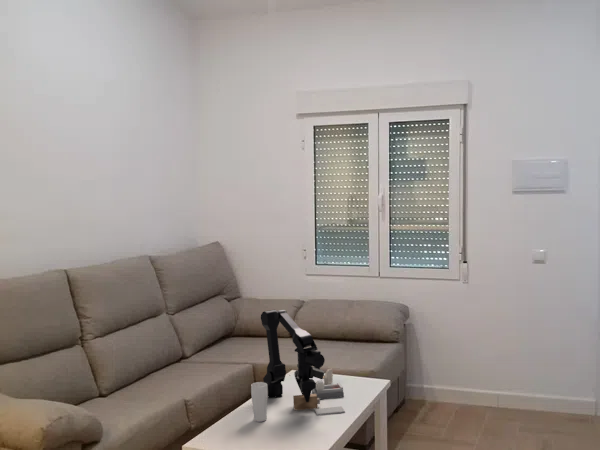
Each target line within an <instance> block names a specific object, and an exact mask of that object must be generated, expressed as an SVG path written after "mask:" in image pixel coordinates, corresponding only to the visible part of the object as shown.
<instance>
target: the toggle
mask: <svg viewBox="0 0 600 450" xmlns="http://www.w3.org/2000/svg"><path fill="white" fill-rule="evenodd" d="M315 383H316V390H324V380H323V379H319V380H316V381H315Z"/></svg>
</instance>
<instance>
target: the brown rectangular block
mask: <svg viewBox="0 0 600 450" xmlns="http://www.w3.org/2000/svg"><path fill="white" fill-rule="evenodd" d="M292 398H293V410H294V411H303V410H311V409H313V410H314V409H319V408H318V407H319V404H321V399H319V398H317V395H316V394H312V393H311V394H310V399H309V402H306V400H305V398H304V395H302V394H298V395H297V394H296V395H293V397H292Z"/></svg>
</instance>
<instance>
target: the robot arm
mask: <svg viewBox="0 0 600 450" xmlns="http://www.w3.org/2000/svg"><path fill="white" fill-rule="evenodd" d="M260 320H261V321H260V322H261V326H263V328H264V329H265V332H266V333H265V334H266V341H267V349H268V358H269V359H268V360H269V362H268V365H267V366H266V374H265V375H264V377H263V378H262V380H263V381H262V382H264V383H267V390H268V396H267V399H268V398H270V399H271V398H280V397H283V394H284V392H283V390H284V389H283V388H284V387H283V384H282V382H285V379H286V375H287V370H286V364H285V363H283V362H282V360H281V356H280V348H279V347H280V345H279V339H278V338H279V336H278V327H279V325H280V324H281V325H282V326H283V327H284V328H285V330H286V331H287V332H288V333H289V335H290V336H291V337H292V339H291V340H292V343H293V345H295V347H296V348H295V349H294V350H293V351H294V352H296V353H297V364H296V367H297V369H296V370H295V371H294V374H293V375H294V379H295V381H296V384H297V385H298V388H299V390H300V393H301V395H304V398H305V400H306V402H309V399H310V394H312V390H313V389H315V388H316V381H315V380H314V378H316V379H319V380H324V379H323V377H324V375H325V373H326V371H324V370H323V369H322V367H323V366H324V364H325V361H326V360H325V356H324V355H323V354H321V353H322V352H321V351H320V350H318V347H317V344H316V342H315V341H314V338H313V336H312V334H311V333H309V332H308V330H305V329H302V328H301V327H300V326H299V325H298V324H297V323H296V322H295V321H294V319H293V318H292V317H291V316H290V315H289V314H288V311H287V310H286V309H280V310H276V309H272V310H265V311H262V312H261V314H260Z"/></svg>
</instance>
